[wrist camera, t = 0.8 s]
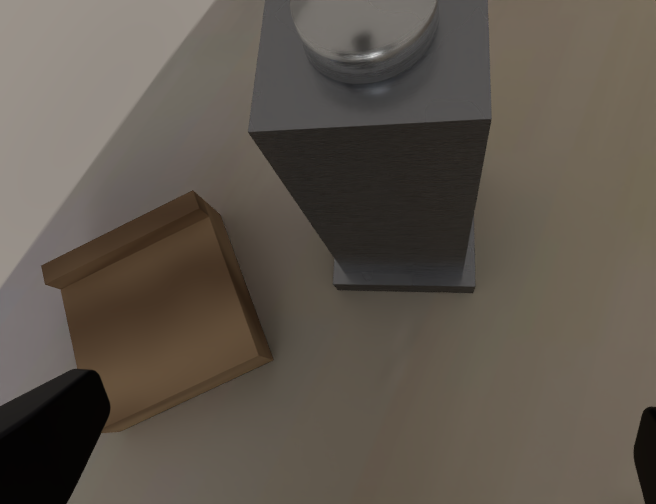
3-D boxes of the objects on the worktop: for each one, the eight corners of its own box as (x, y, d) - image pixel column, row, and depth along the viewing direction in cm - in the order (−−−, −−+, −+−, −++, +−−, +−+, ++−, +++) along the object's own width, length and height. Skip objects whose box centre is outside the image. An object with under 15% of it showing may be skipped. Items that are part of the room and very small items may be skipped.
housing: (473, 292, 21) (529, 110, 8) (337, 290, 23) (202, 128, 10) (471, 168, 23) (514, -146, 10) (345, 172, 24) (239, -101, 11)
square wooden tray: (273, 359, 22) (249, 353, 19) (119, 431, 23) (74, 435, 20) (220, 214, 25) (192, 190, 22) (84, 281, 26) (41, 265, 23)
